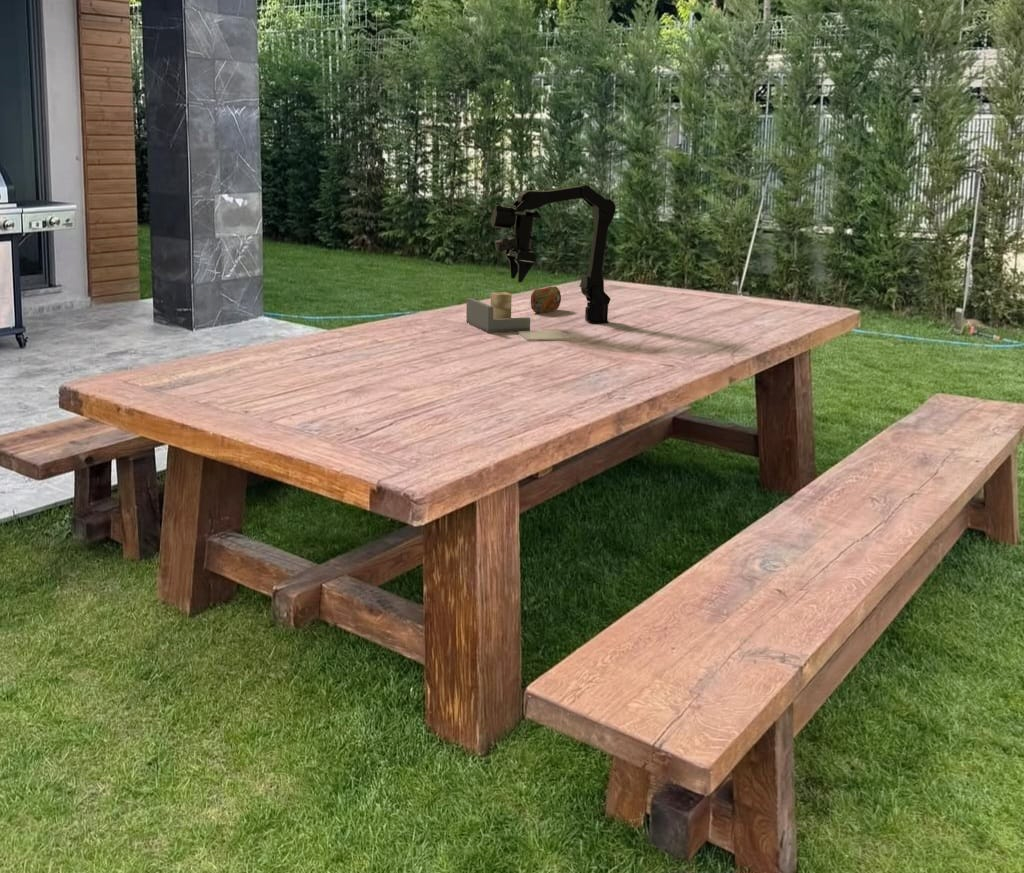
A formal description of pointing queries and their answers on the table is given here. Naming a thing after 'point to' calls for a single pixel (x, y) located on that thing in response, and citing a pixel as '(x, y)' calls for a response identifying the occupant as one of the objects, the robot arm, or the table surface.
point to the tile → (543, 335)
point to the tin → (545, 299)
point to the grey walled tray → (483, 319)
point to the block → (501, 305)
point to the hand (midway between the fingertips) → (516, 280)
